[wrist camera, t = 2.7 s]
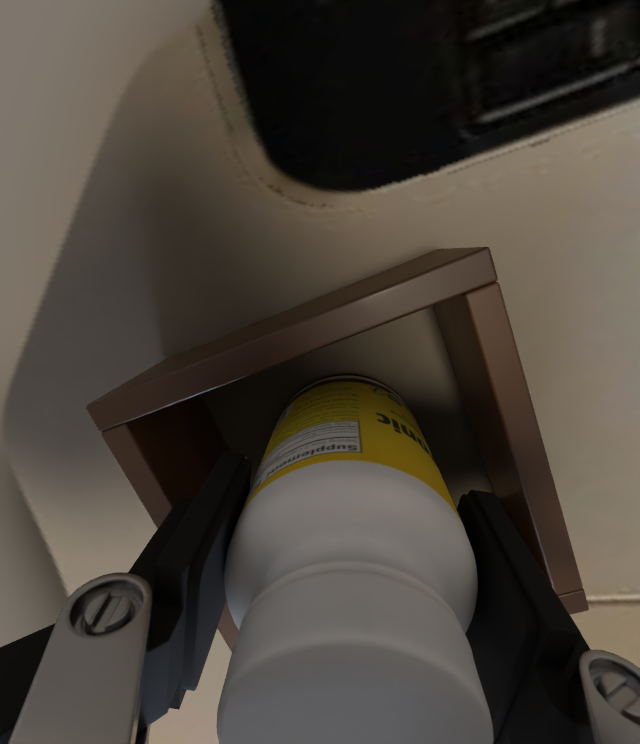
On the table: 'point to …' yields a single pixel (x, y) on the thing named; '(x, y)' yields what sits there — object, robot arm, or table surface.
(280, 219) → the table surface
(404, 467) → the supplement bottle
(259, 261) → the table surface
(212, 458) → the box
